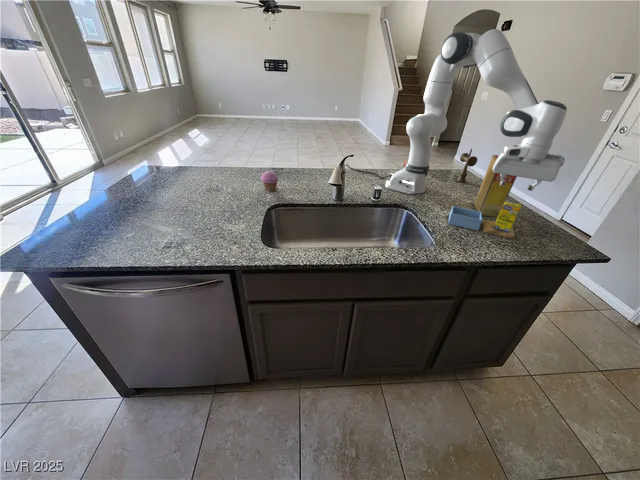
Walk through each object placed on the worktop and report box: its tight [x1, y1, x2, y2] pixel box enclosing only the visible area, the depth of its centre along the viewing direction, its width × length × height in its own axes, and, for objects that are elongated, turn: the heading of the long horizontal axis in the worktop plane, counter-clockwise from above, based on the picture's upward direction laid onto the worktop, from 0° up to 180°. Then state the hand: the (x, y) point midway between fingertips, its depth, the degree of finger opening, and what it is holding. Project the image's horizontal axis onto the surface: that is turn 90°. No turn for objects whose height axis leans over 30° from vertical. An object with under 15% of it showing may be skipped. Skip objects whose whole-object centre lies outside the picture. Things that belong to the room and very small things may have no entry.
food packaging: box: [473, 154, 517, 218], centre depth 124 cm, size 13×9×25 cm
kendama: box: [456, 148, 478, 183], centre depth 160 cm, size 6×10×20 cm, turn 3°
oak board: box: [482, 219, 516, 239], centre depth 114 cm, size 11×10×2 cm
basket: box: [447, 205, 483, 231], centre depth 118 cm, size 12×9×5 cm
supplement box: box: [493, 200, 522, 233], centre depth 110 cm, size 6×6×11 cm
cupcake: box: [261, 171, 279, 192], centre depth 141 cm, size 9×9×10 cm
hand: (515, 187), depth 104 cm, fingers open, 8 cm apart
